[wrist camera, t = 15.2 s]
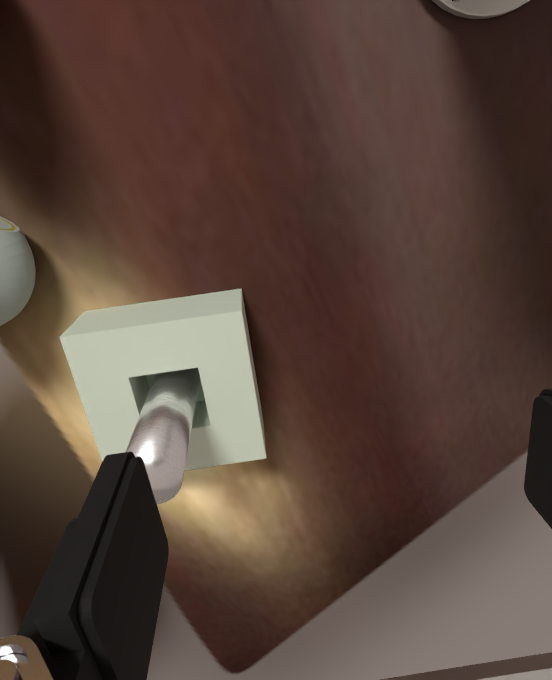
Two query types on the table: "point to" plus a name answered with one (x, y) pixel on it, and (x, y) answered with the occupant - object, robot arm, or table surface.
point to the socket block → (164, 356)
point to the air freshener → (14, 271)
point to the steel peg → (166, 430)
